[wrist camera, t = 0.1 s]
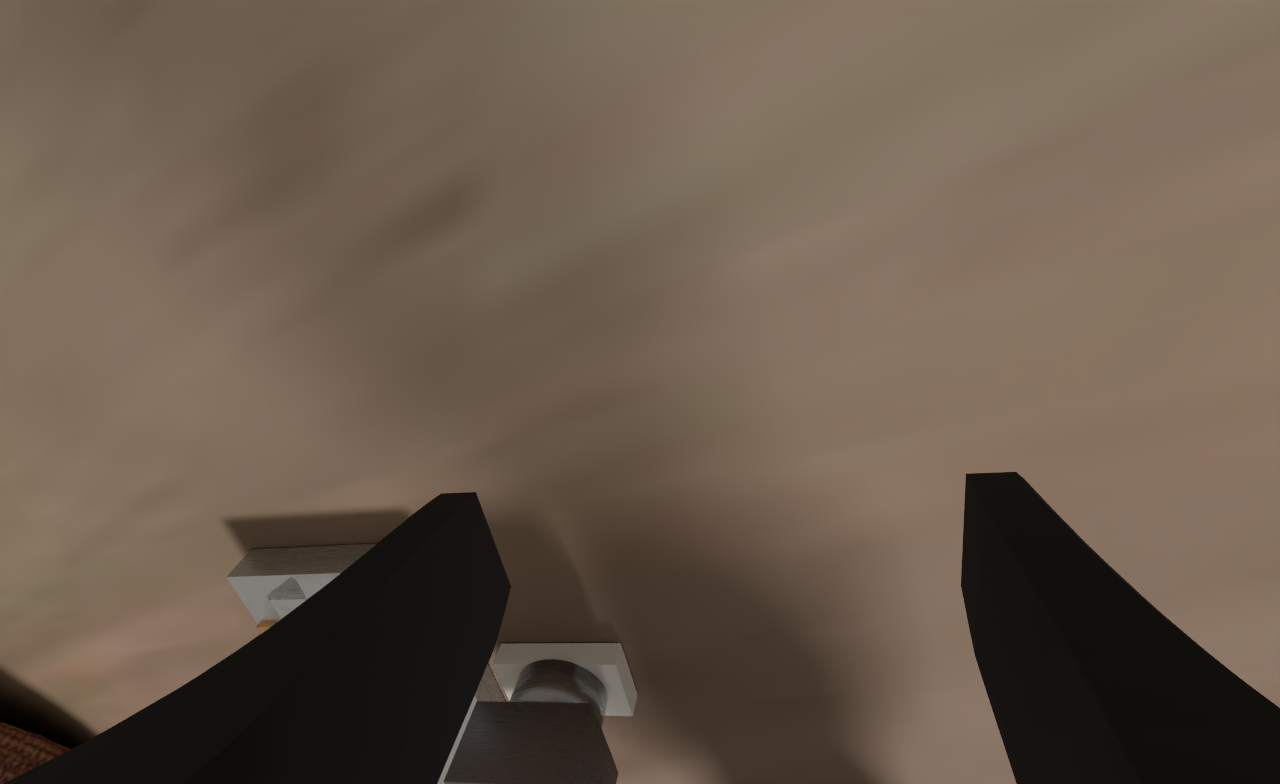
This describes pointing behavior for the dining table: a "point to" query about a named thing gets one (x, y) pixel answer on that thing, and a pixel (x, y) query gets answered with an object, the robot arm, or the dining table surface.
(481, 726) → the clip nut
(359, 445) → the dining table surface
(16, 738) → the basket
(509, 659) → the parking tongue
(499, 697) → the flange plate
